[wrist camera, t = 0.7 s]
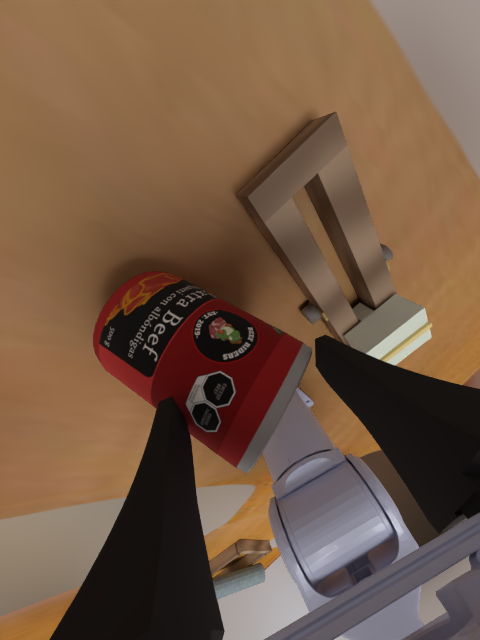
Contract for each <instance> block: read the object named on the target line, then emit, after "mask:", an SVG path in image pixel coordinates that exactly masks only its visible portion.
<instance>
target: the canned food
mask: <svg viewBox="0 0 480 640" xmlns="http://www.w3.org/2000/svg"><path fill="white" fill-rule="evenodd" d="M93 347H94V351H95V354H96V356H97V358H98V359H99V361H100V362H101V364H102V366H103V367H104V369H105V370H106V371H107V372H109V373H110V374H111V375H113V376H114V377H115V378H117V379H118V380H119V381H121V382H122V383H123V384H125V385H126V386H127V387H129V388H130V389H131V390H133V391H134V392H135V393H137V394H138V395H139V396H141V397H142V398H143V399H145V400H146V401H147V402H149V403H150V404H151V405H153V406H154V407H155V408H157V406H158V403H159V401H162V400H164V399H167V398H169V397H173V399H174V400H175V402H176V404H177V405H178V407H179V409H180V410H181V412H182V414H183V416H184V418H185V420H186V422H187V424H188V429H189V433H190V434H191V435H192V436H194V437H195V438H196V439H198V440H199V441H200V442H202V443H203V444H204V445H206V446H207V447H208V448H210V449H211V450H212V451H214V452H215V453H216V454H218V455H219V456H221V457H222V458H224V459H225V460H226V461H228V462H229V463H230V464H232V465H233V466H234V467H236V468H238V469H241V470H242V471H243V472H245V473H247V472H249V471H250V470H251V469H252V468H253V466H254V465H255V463H256V462H257V460H258V459H259V457H260V455H261V454H262V452H263V450H264V449H265V447H266V445H267V444H268V442H269V440H270V438H271V437H272V435H273V433H274V431H275V429H276V428H277V426H278V424H279V422H280V420H281V418H282V416H283V415H284V413H285V411H286V409H287V407H288V405H289V403H290V401H291V399H292V397H293V395H294V393H295V391H296V389H297V387H298V385H299V383H300V381H301V379H302V377H303V374H304V372H305V370H306V368H307V365H308V363H309V361H310V358H311V355H312V348H310V347H308V346H306V345H305V344H304V343H303V342H301V341H299V340H297V339H295V338H294V337H292V336H290V335H288V334H287V333H285V332H283V331H281V330H279V329H277V328H275V327H273V326H272V325H270V324H268V323H266V322H264V321H262V320H260V319H258V318H256V317H254V316H252V315H250V314H249V313H247V312H245V311H243V310H241V309H239V308H237V307H235V306H233V305H231V304H229V303H228V302H226V301H224V300H222V299H220V298H218V297H216V296H214V295H212V294H210V293H208V292H206V291H205V290H203V289H201V288H199V287H197V286H195V285H193V284H191V283H189V282H187V281H185V280H184V279H182V278H180V277H178V276H176V275H173V274H171V273H165V272H156V271H151V272H145V273H142V274H140V275H137V276H135V277H133V278H132V279H130V280H129V281H127V282H126V283H124V284H123V285H122V286H121V287H120V288H119V289H118V290H117V291H115V293H114V294H113V295H112V296H111V298H110V299H109V300H108V301H107V303H106V304H105V306H104V308H103V309H102V311H101V313H100V315H99V317H98V320H97V322H96V325H95V330H94V335H93Z"/></svg>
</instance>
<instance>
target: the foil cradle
mask: <svg viewBox="0 0 480 640" xmlns="http://www.w3.org/2000/svg"><path fill="white" fill-rule="evenodd" d="M236 543H237V544H233V545H232V546H230V547H229V548H227V549H226V550H225V551H223V552H222V553H221V554H219V555H218V556H216V557H215V558H214V559H212V560H211V561H210V562H209V565H210V570H211V574H212V575H213V574H214V573H216V572H217V571H219V570H220V569H221V568H223V567H224V566H226V565H227V564H228V563H230V562H231V561H233V560H234V559H235V558H237V557H238V556H240V554H247V555H245V556H244V557H243V558H241V559H240V560H238V561H237V562H236V563H234V564H233V565H231V566H230V567H229V568H227V569H226V570H224V571H223V572H222V573H220V574H219V575H217V576H216V577H218V576H221V575H224V574H227V573H230V572H233V571H236V570H239V569H242V568H245V567H249V566H251V565H253V564H254V563H256V562H257V561H258V560H260V559H261V558H263V557H264V556H265V555H267V554H266V553H270V552H271V551H272V549H271V546H270V543H269V541H266V540H245V539H240V540H238V541H237V542H236Z"/></svg>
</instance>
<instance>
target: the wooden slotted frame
mask: <svg viewBox="0 0 480 640" xmlns="http://www.w3.org/2000/svg"><path fill="white" fill-rule="evenodd" d="M303 186H305V188H306V191H307V193H308V195H309V197H310V199H311V201H312V203H313V205H314V207H315V209H316V211H317V213H318V215H319V217H320V219H321V221H322V223H323V225H324V227H325V230H326V232H327V234H328V236H329V238H330V240H331V242H332V244H333V246H334V248H335V250H336V252H337V254H338V256H339V258H340V260H341V262H342V264H343V266H344V269H345V271H346V273H347V275H348V277H349V279H350V281H351V283H352V285H353V287H354V289H355V291H356V293H357V295H358V297H359V299H360V301H361V303H362V304H363V305H365V306H367V307H368V308H370V309H372V310H373V311H375V310H376V309H377V308H379V307H380V306H381V305H382V304H384V303H385V302H386V301H387V300H389V299H390V298H391V297H392V296H393V295H395V294H397V293H396V290H395V287H394V284H393V281H392V278H391V275H390V272H389V269H390V267H389V264H388V261H389V260H390V259H391V258H392V257H393V254H392V252H391V250H390V249H389V248H388V247H387V246H385V245H382V244H380V242H379V239H378V236H377V233H376V230H375V227H374V224H373V221H372V218H371V215H370V212H369V209H368V206H367V203H366V200H365V197H364V194H363V191H362V188H361V185H360V182H359V179H358V176H357V173H356V170H355V167H354V164H353V161H352V158H351V155H350V152H349V149H348V146H347V143H346V140H345V137H344V134H343V131H342V128H341V125H340V122H339V119H338V116H337V113H336V112H334V113H331V114H328V115H326V116H323V117H320V118H318V119H315V120H312V121H311V122H310V123H309V124H308V125H307V126H306V127H305V128H304V129H303V130H302V131H301V132H300V133H299V134H298V135H297V136H296V137H295V138H294V139H293V140H292V141H291V142H290V143H289V144H288V145H287V146H286V147H285V148H284V149H283V150H282V151H281V152H280V153H279V154H278V155H277V156H275V157H274V158H273V159H272V160H271V161H270V162H269V163H268V164H267V165H266V166H265V167H264V168H263V169H262V170H261V171H260V172H259V173H258V174H257V175H256V176H255V177H254V178H253V179H252V180H251V181H250V182H249V183H248V184H247V185H246V186H245V187H244V188H243V189H242V190H241V191H240V192H239V193H238V194H237V195H236V196H237V197H238V199H239V200H240V202H241V203H242V204H243V206H244V207H245V209H246V210H247V212H248V213H249V215H250V216H251V217H252V219H253V220H254V222H255V223H256V225H257V226H258V228H259V229H260V230H261V232H262V233H263V235H264V236H265V238H266V239H267V241H268V242H269V244H270V245H271V246H272V248H273V249H274V251H275V252H276V254H277V255H278V257H279V258H280V259H281V261H282V262H283V264H284V265H285V267H286V268H287V270H288V271H289V272H290V274H291V275H292V277H293V278H294V280H295V281H296V283H297V284H298V285H299V287H300V288H301V290H302V291H303V293H304V294H305V296H306V297H307V298H308V300H309V301H310V302H309V304H308V305H307V306H306V307H305V308H304V309H302V310H301V312H302V314H303V315H304V316H305V317H306V318H307V319H308V320H309V321H310V322H311V323H312V324H314V323H315V322H316V321H317V320H319V319H320V318H321V319H322V320H323V322H324V323H325V325H326V326H327V327H328V329H329V330H330V332H331V333H332V335H333V336H334V338H335V339H336V340H337V341H340V342H342V343H344V344H346V345H348V346H350V345H349V343H348V341H347V340H346V338H345V337H344V335H346V334H347V333H348V332H349V331H350V330H352V329H353V328H354V327H355V326H357V325H358V324H359V321H358V319H357V317H356V316H355V314H354V312H353V310H352V308H351V306H350V304H349V303H348V301H347V299H346V297H345V295H344V293H343V291H342V290H341V288H340V286H339V284H338V282H337V280H336V278H335V277H334V275H333V273H332V271H331V269H330V267H329V265H328V263H327V262H326V260H325V258H324V256H323V254H322V252H321V250H320V249H319V247H318V245H317V243H316V241H315V239H314V237H313V236H312V234H311V232H310V230H309V228H308V226H307V224H306V223H305V221H304V219H303V217H302V215H301V213H300V211H299V210H298V208H297V206H296V204H295V202H294V200H293V198H292V197H293V196H294V195H295V194H296V193H297V192H298V191H299V190H300V189H301V188H302V187H303ZM350 347H351V346H350Z"/></svg>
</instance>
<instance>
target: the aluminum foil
mask: <svg viewBox="0 0 480 640" xmlns="http://www.w3.org/2000/svg"><path fill="white" fill-rule="evenodd" d="M212 579H213V584H214V588H215V593H216V597H217V599H220V598H222V597H225V596H227V595H230V594H233V593H236V592H238V591H241V590H244V589H246V588H249V587H252V586H254V585H257V584H260V583H262V582H264V580H265V571H264V567H263V565H262V564H261V563H258V564H255V565H252V566H249V567H245V568H242V569H239V570H236V571H233V572H230V573H227V574H224V575H221V576H218V577H215V578H212Z"/></svg>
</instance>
